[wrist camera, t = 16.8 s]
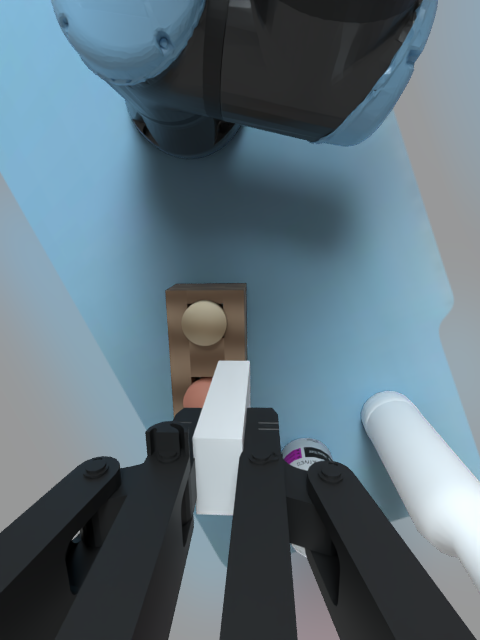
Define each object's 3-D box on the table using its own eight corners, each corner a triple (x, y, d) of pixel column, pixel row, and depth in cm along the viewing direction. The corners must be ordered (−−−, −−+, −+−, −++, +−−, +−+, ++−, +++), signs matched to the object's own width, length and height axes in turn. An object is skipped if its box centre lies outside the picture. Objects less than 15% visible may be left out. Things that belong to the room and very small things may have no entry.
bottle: (413, 435, 55) (583, 668, 26) (360, 438, 55) (468, 669, 26) (413, 387, 53) (598, 580, 24) (359, 391, 54) (473, 584, 24)
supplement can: (285, 484, 58) (292, 568, 44) (274, 440, 56) (278, 513, 42) (335, 475, 57) (359, 559, 43) (325, 430, 55) (348, 502, 41)
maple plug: (191, 292, 51) (180, 302, 44) (230, 292, 50) (225, 302, 44) (193, 330, 52) (182, 345, 45) (231, 330, 52) (226, 345, 45)
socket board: (176, 283, 51) (165, 290, 45) (246, 283, 51) (244, 290, 45) (186, 455, 58) (178, 480, 52) (248, 456, 57) (246, 482, 52)
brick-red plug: (192, 363, 52) (181, 383, 45) (231, 363, 51) (226, 383, 45) (194, 398, 53) (184, 423, 46) (232, 399, 53) (227, 424, 46)
